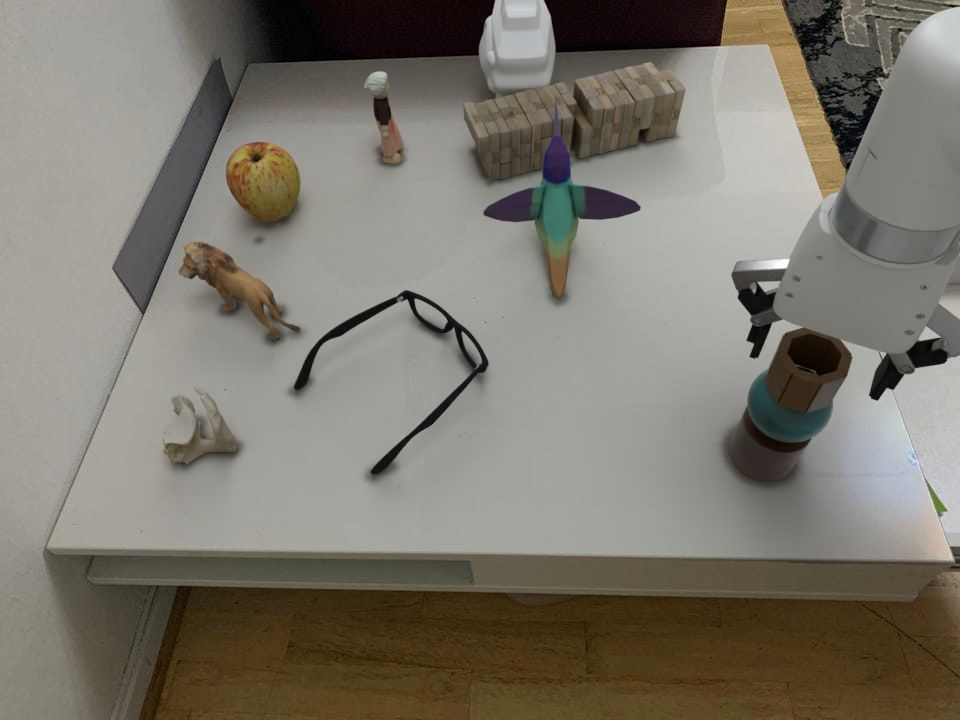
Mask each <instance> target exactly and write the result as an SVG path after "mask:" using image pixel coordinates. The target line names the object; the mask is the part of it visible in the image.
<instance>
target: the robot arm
mask: <svg viewBox="0 0 960 720" xmlns="http://www.w3.org/2000/svg"><path fill="white" fill-rule="evenodd" d="M959 258H960V6H954V7H951V8H948V9H943V10H941V11H938V12H935V13H933V14H932V15H931V16H928V17H927V18H925V19H924V20H922V21H921V22H920V23H919V24H918V25H916V26H915V28H914V29H913V30H912V31H911V32H910V33H909V35H908V36H907V38H906V39H905V41H904V42H903V44H902V47H901V49H900V51H899V53H898V55H897V57H896V59H895V62H894V64H893V66H892V69H891V71H890V74H889V76H888V78H887V81H886V82H885V85H884V87H883V90H882V92H881V94H880V96H879V99H878V101H877V103H876V106H875V108H874V110H873V113H872V115H871V116H870V119H869V121H868V124H867V126H866V128H865V131H864V134H863V136H862V139H861V140H860V142H859V145H858V147H857V150H856V152H855V154H854V156H853V158H852V161H851V163H850V166H849V168H848V171H847V173H846V174H845V177H844V179H843V182H842V184H841V186H840V189H839V191H837V192H833V193H830V194H828V195H827V196H826V197H824V199H822V201H821V202H820V203H819V204H818V206H817V207H816V208H815V210H814V212H813V213H812V215H811V216H810V218H809V219H808V221H807V222H806V224H805V226H804V228H803V229H802V231H801V233H800V235H799V238H797V241H796V243H795V245H794V247H793V249H792V252H791V254H790V256H789V257H788V258H772V259H771V258H770V259H769V258H767V259H753V260H751V259H750V260H738V261H736V262H735V264H734V267H733V269H732V272H731V274H730V276H731V279H732V282H733V284H734V288H735V290H736V291H737V294H738V295H737V300H738V301H739V302H740V303H741V305H742V306H743V307H744V309H745V310H746V311H747V312H748V314H749V315H750V319H749V321H750V323H751V326H750V330H749V332H748V334H747V337H746V340H745V341H746V342H748V343H751V344H753V345H752V348H751V351H750V353H749V356H748V357H749V358H750V359H754V360H756V359H759V357H760V355H761V352H762V351H763V347H764V346H765V342H766V340H767V339H768V336H769V333H770V330H771V329H772V325H773V323H774V324H775V323H777V322H779V321H786V322H787V323H790V324H793V325H796V326H798V327H800V328H803V327H804V328H807V329H810V330H813V331H816V332H819V333H822V334H825V335H828V336H831V337H834V338H837V339H840V340H841V341H844V342H847V343H850V344H853V345H856V346H860V347H862V348H866V349H869V350H872V351H876V352H880V353H885V355H884V356H883V358H882V359H881V361H880V363H879V364H878V366H877V367H876V369H875V371H874V374H873V377H872V382H871V385H870V390H869V393H868V397H870V399H871V400H873V401H876V402H878V401H879V400H880V399H881V397H882V396H883V395H884V393H885V392H886V391H887V389H889V390H891V391H894V390H895V389H896V388H897V386H898V385H899V384H900V382H901V380H902V379H903V378H904V376H905V375H913V374H914V373H915V372H916V369H920V368H926V367H934V366H939V365H944V364H946V363H947V362H948V359H951V358H953V359H954V358H957V357H959V356H960V318H959V317H957V316H956V315H955V314H954V313H952V312H950V311H949V310H948V309H947V308H946V307H944V306H943V305H942V304H941V303H940V300H941V299H942V297H943V295H944V294H945V290H946V289H947V286H948V285H949V284H948V283H949V281H950V280H951V277H952V275H953V273H954V270H955V268H956V265H957V262H958V261H959ZM765 282H779V283H778V286H777V287H775V288H772V289H770V290H766V291H765V290H764V289H763V287H761V285H760V283H765ZM926 327H927V328H928V329H929V330H930V331H932V332H933V333H935V334H936V335H937V336H939V337H933V338H929V339H923V340H920V337H921V335H922V334H923V332H924V330H925V328H926Z"/></svg>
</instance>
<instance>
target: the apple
mask: <svg viewBox="0 0 960 720" xmlns="http://www.w3.org/2000/svg"><path fill="white" fill-rule="evenodd" d="M225 180H226V184H227V187H228V190H229V193H231V195H232V196H233V198H234V200H235V201H236V202H237V204H238V205H239V206H240V207H241V208H242V210H244V211H245V212H246V213H247V214H249V215H250V216H251V217H253V218H254V219H256V220H258V221H260V222H275V221H279V220H282V219H283V218H285V217H286V216H288V215H290V213H291V212H292V211H294V209H295V206H296V205H297V201H298V199H299V195H300V192H301V191H300V190H301V174H300V170H299V168H298V164H297V162H296V161H295V160H294V157H293V156H292V155H291V154H290V153H289V151H287V150H286V149H285V148H283V147H282V146H280V145H278V144H276V143H273V142H266V141H255V142H249V143H246V144H243V145H241V146H239V147H238V148H237V149H236V150H235V151H233V153H232V154H231V155H230V156H229V158H228V160H227V163H226V165H225Z"/></svg>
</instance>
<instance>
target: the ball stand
mask: <svg viewBox="0 0 960 720" xmlns="http://www.w3.org/2000/svg"><path fill="white" fill-rule="evenodd" d="M795 365H796V364H795ZM796 367H797V368H798V369H800V370H803V371H806V372H809V373H812V374H815V375H817V374H816V372H815V371H814V370H811V369H808V368H805V367H802V366H799V365H796ZM767 371H768V368H767V369H765V370H763V371H762V372H761V373H760V374H758V376H757V377H756V378H755V379H754V380H753V381H752V384H751V386H750V387H749V390H748V392H747V393H748V394H747V400H746V407H745V409H744V411H743V413H742V415H741V417H740V419H739V422H738V424H737V426H736V427H735V430H734V432H733V435H732V436H731V439H730V440H729V444H728V445H729V446H728V449H729V450H728V452H729V456H730V459H731V461H732V464H734V466H735V468H737V469H738V471H740V472H741V473H742V474H744V475H745V476H746V477H748V478H750V479H753V480H755V481H758V482H766V483H771V482H776V481H779V480H782V479H785V478H786V477H787V476H788V475H789V474H790V473H791V472H792V470H793V469H794V467H795V466H796V464H797V462H798V461H799V460H800V459H801V456H802V455H803V453H804V452H805V450H806V449H807V447H808V446H809V445H810V443H811V441H812V440H813V438H815V437H816V436H817V435H819V434H821V433H822V432H823V431H824V429H825V428H826V427H827V426H828V424H829V423H830V421H831V418H832V415H833V412H834V399H833V400H832V402H831V403H830V405H828V406H827V407H824V408H821V409H818V410H815V411H812V412H809V413H806V412H805V411H804V413H801V412H799V411H796V410H793V409H790V408H787V407H784V406H782V405H779V402H778V403H777V402H776V401H775V400H774V398H773V397H772V395H771V394H770V392H769V391H768V389H767V388H766V386H765V385H764V383H765V382H764V379H765V377H766V374H767Z"/></svg>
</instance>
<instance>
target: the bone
mask: <svg viewBox="0 0 960 720" xmlns="http://www.w3.org/2000/svg"><path fill="white" fill-rule="evenodd" d="M193 389H194V390H195V392H196V393H197V395H198V396H199V398H200V401H201V403H202V405H203V406H204V408H205V410H206V413H207V414H206V415H207V417H208V420H209V423H210V425H211V428H212V435H213V438H212V439H205V438H202V436H201V427H202V422H201V421H200V420H199V418H198V415H197V414H196V409H195V405H194V403H193V401H192V400H191V399H190V398H188V397H187V396H183V395H181V394H180V393H177V394H175V395H173V396H172V397H171V403H172V405H173V409H172V412H174V414H175V415H177V417H176V419H175V421H174V422H173V423H170V424H168V425H167V426H165V427H164V430H163V437H162V442H163V445H164V446H163V449H162V453H163V454H164V455H165V456H166V457H168V460H169V463H170V464H175V463H185V465H188V464H189V463H191V462H192V461H194V460H195V459H197V458H198V457H200V456H202V455H205V454H210V453H236V452H237V450H238V445H237V440H236V438H235V435H234V433H233V432H232V431H231V429H230V427H229V426H228V424H227V423H226V421H225V419H224V417H223V415H222V414H221V412H220V411H219V407H218V405H217V403H216V401H215V400H214V399H213V397H212V396H211V395H210V394H209V393H208V392H207V391H205V389H203V388H202V387H197V386H194V388H193Z"/></svg>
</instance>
